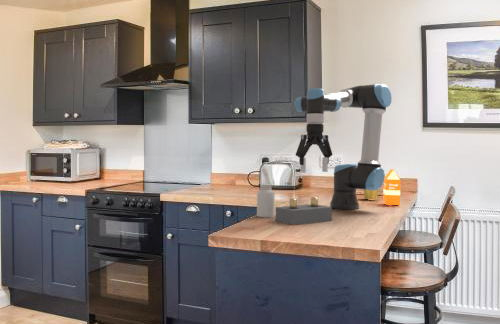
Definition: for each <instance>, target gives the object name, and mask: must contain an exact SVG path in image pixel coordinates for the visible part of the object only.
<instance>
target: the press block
mask: <svg viewBox="0 0 500 324" xmlns="http://www.w3.org/2000/svg"><path fill="white" fill-rule="evenodd" d="M289 206H290V205H286V206H276V207H275V217H274V219H275V222H279V223H283V222H284V224H287V223H288V224H287V225H291V224H292V225H291V226H293V224H297V225H305V224H304V223H306V224H313V223H315V224H316V223H324V222H332V219H333V217H332V216H333V213H332V210H333V208H332V207H330V206H326V205H321V204H318V207H311V203H309V204H297V209H290V208H289Z"/></svg>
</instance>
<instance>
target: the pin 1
mask: <svg viewBox="0 0 500 324" xmlns="http://www.w3.org/2000/svg"><path fill="white" fill-rule="evenodd" d="M297 205H298V199H297V198H289V205H288V206H289V208H290V209H297Z"/></svg>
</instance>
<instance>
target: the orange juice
mask: <svg viewBox="0 0 500 324" xmlns="http://www.w3.org/2000/svg"><path fill="white" fill-rule="evenodd" d="M401 182H402V181H401V179H400V177H399V176H398V174H397V172H396V171H395V170H394V169H393V168H391V169H389V171H388V172H387V173H386V174H385V179H384V182H383V190H382V191H383V199H382V201H383V202H382V203H384V204H386V205H400V206H401ZM384 204H383V205H384ZM386 205H385V206H386Z"/></svg>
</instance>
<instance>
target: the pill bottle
mask: <svg viewBox="0 0 500 324" xmlns="http://www.w3.org/2000/svg"><path fill="white" fill-rule="evenodd" d="M259 186H260V187H259V188H260V189H259V190H258V191H257V193H256V194H257V195H256V216H257V217H259V218H264V219H265V218H267V219H268V218H274V217H275V191H274V190H272V189H273V188H272V184H271V183H260V184H259Z"/></svg>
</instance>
